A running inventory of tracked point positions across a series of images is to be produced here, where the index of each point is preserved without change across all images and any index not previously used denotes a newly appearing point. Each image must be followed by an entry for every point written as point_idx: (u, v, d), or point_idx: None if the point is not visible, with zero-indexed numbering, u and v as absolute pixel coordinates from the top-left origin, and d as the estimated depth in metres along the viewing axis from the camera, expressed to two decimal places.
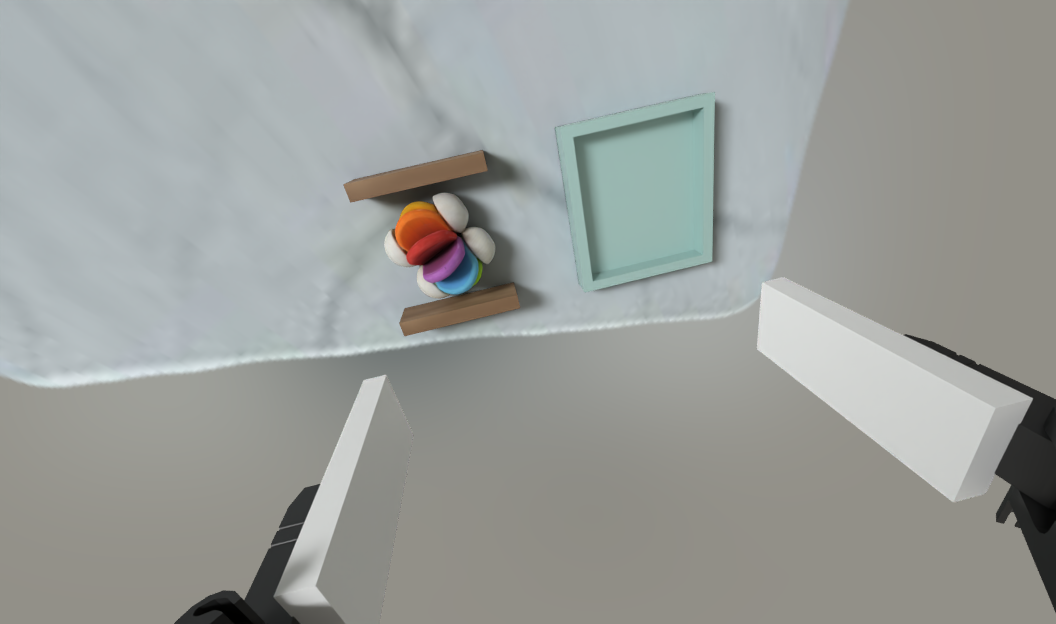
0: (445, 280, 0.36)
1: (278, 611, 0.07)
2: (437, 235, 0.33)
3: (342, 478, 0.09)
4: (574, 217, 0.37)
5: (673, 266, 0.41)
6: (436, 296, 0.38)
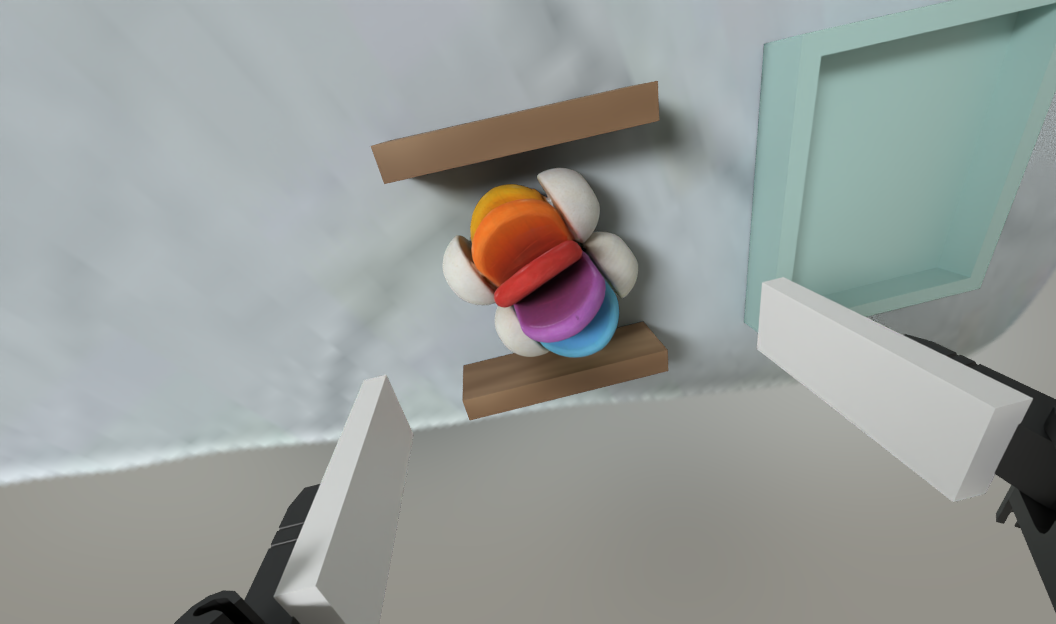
0: None
1: (278, 611, 0.07)
2: (565, 252, 0.16)
3: (342, 478, 0.09)
4: (783, 214, 0.21)
5: (918, 297, 0.24)
6: (531, 355, 0.21)
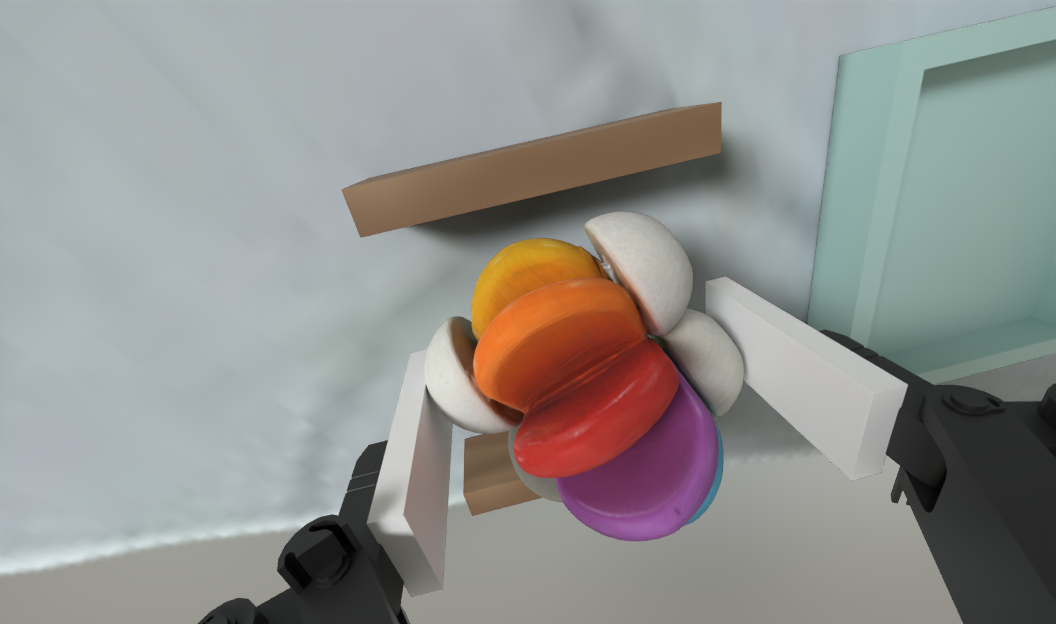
0: None
1: (365, 540, 0.08)
2: (660, 393, 0.08)
3: (408, 432, 0.10)
4: (864, 263, 0.16)
5: (1016, 356, 0.20)
6: None
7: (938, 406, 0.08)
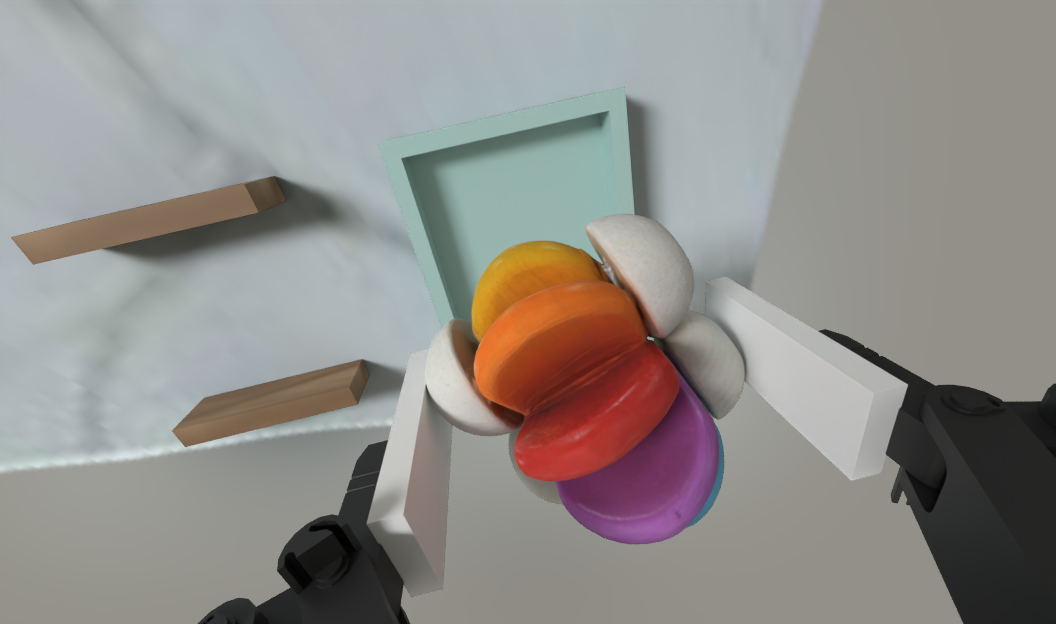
0: None
1: (365, 540, 0.08)
2: (661, 397, 0.08)
3: (408, 432, 0.10)
4: (424, 276, 0.25)
5: None
6: None
7: (938, 406, 0.08)
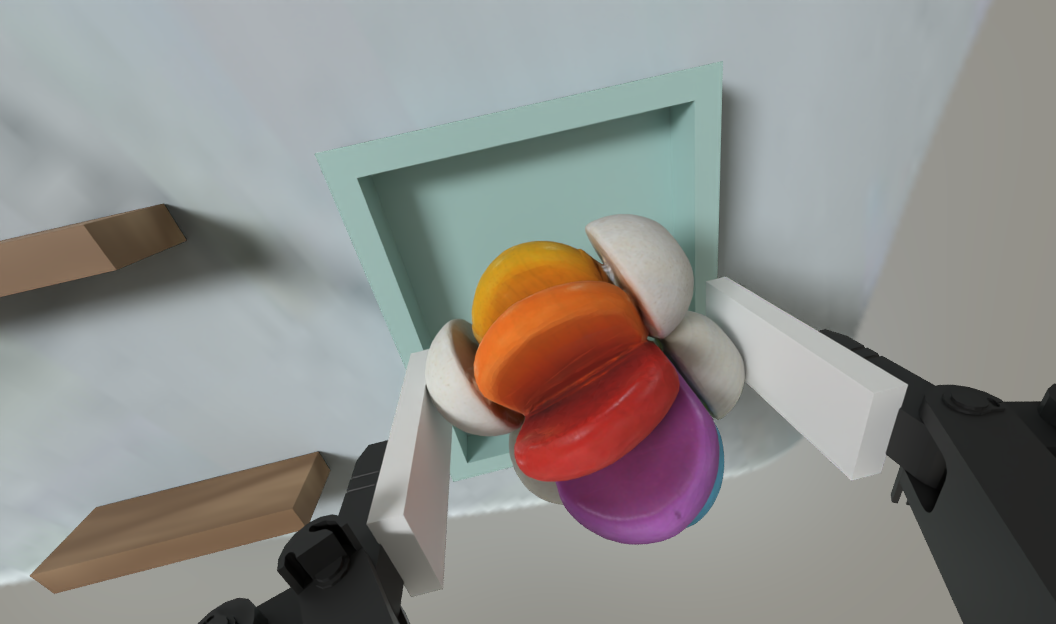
0: None
1: (365, 540, 0.08)
2: (661, 397, 0.08)
3: (408, 432, 0.10)
4: (401, 352, 0.16)
5: None
6: None
7: (938, 406, 0.08)
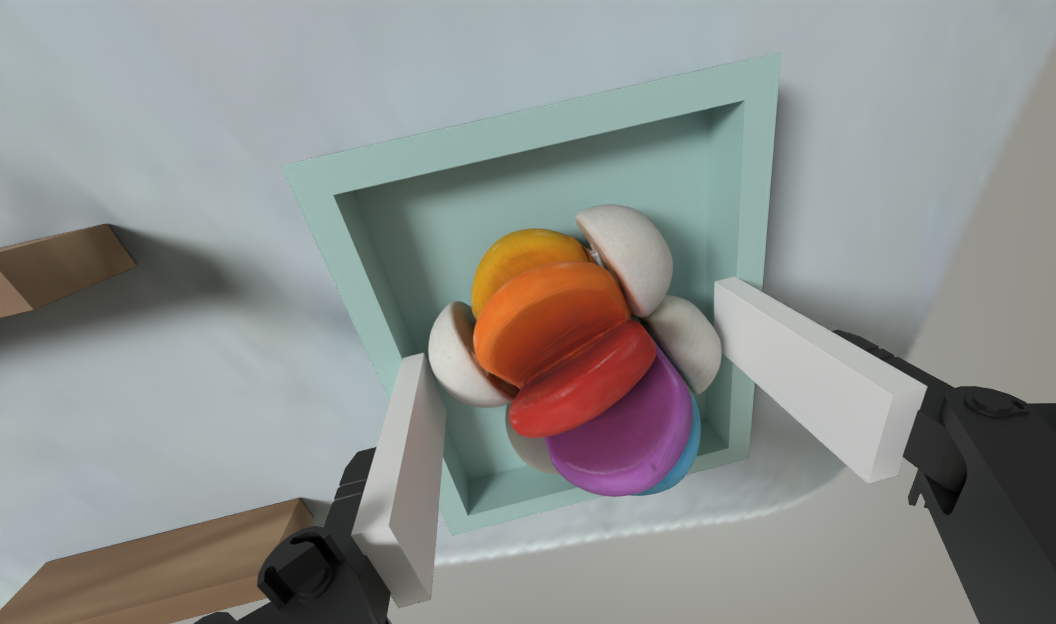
0: None
1: (351, 551, 0.08)
2: (637, 360, 0.09)
3: (397, 439, 0.10)
4: (390, 396, 0.14)
5: None
6: (558, 474, 0.14)
7: (959, 408, 0.08)
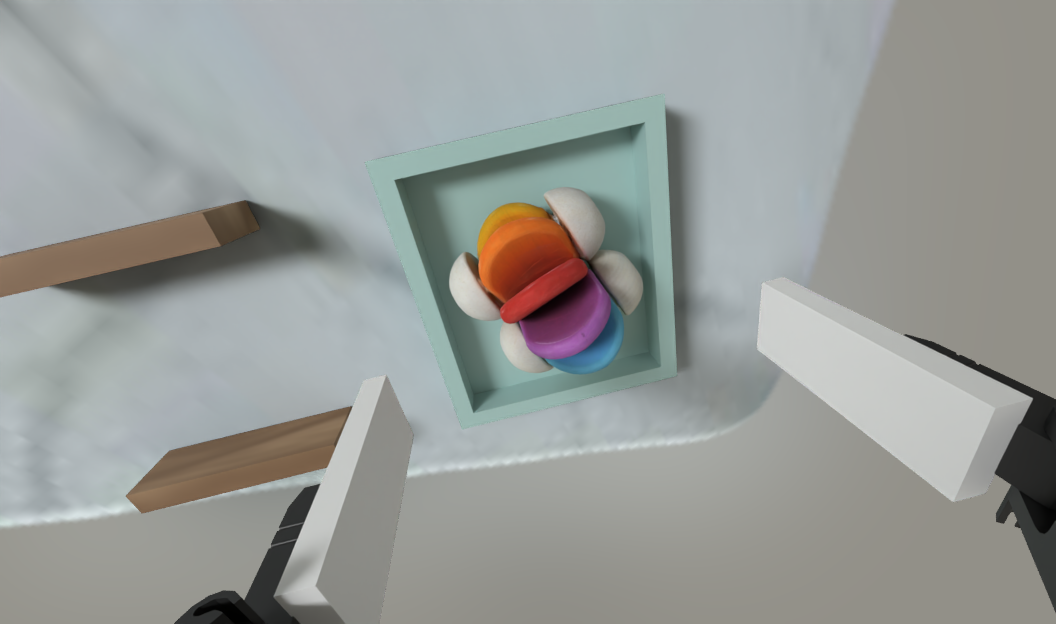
0: None
1: (278, 611, 0.07)
2: (571, 270, 0.16)
3: (342, 478, 0.09)
4: (422, 316, 0.21)
5: (612, 386, 0.24)
6: (535, 371, 0.21)
7: None
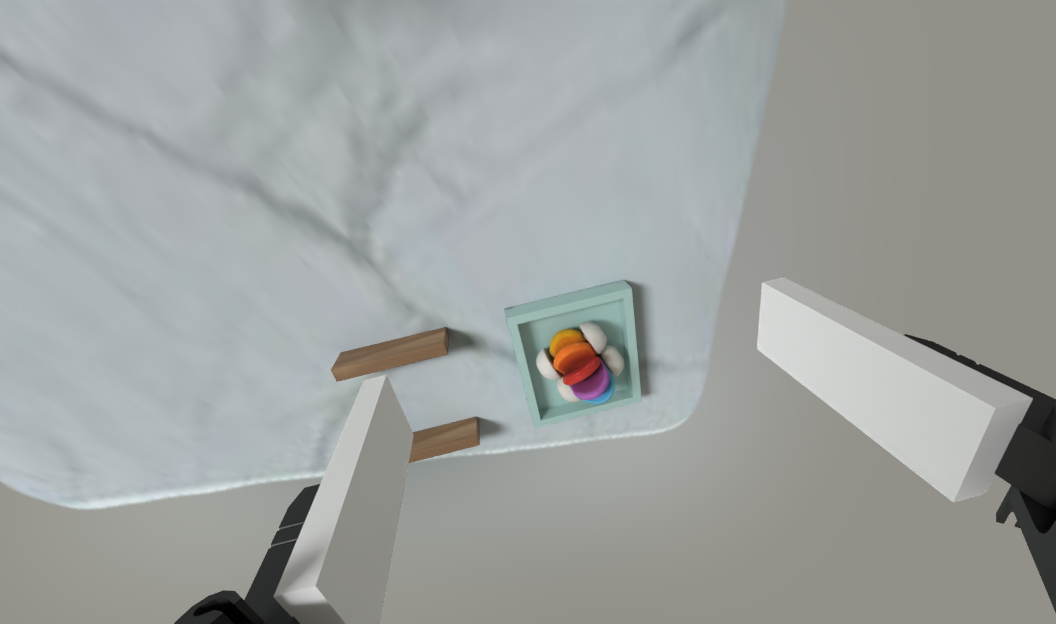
0: None
1: (278, 611, 0.07)
2: (594, 366, 0.41)
3: (342, 478, 0.09)
4: (522, 377, 0.45)
5: (609, 406, 0.49)
6: (574, 401, 0.46)
7: None
